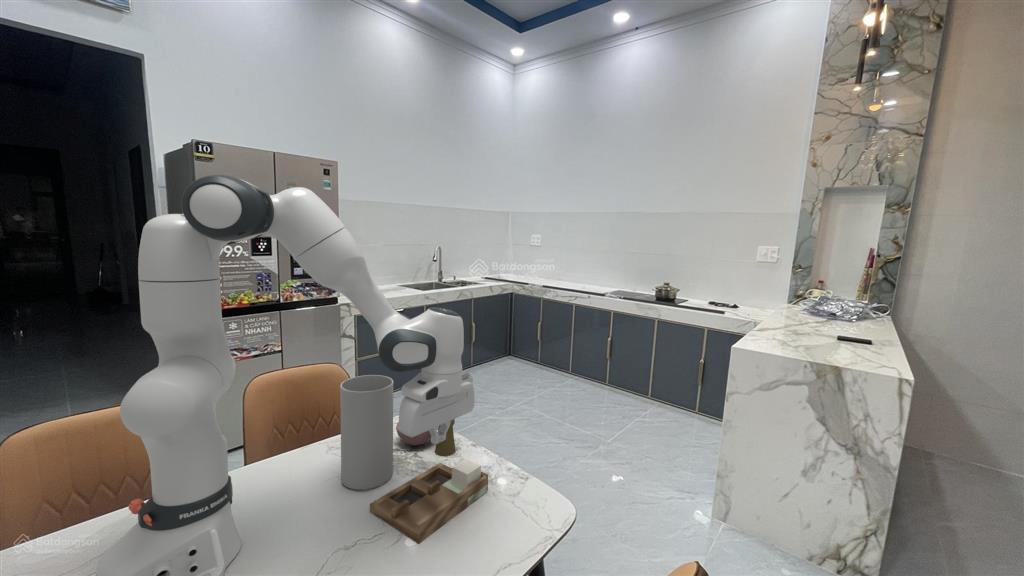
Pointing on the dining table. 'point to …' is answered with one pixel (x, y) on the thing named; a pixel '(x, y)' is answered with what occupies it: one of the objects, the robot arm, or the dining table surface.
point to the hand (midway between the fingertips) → (438, 441)
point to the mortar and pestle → (415, 440)
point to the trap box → (426, 502)
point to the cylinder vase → (366, 431)
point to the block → (465, 474)
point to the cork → (446, 443)
